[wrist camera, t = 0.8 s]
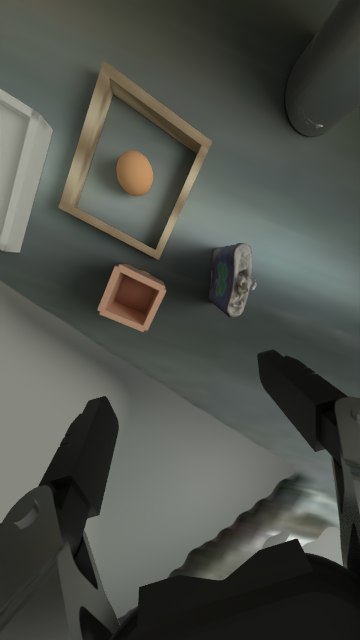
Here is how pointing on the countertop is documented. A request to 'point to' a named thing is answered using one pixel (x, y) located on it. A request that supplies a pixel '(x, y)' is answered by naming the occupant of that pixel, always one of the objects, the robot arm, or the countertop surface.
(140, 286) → the cup
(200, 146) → the corral
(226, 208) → the countertop surface
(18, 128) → the tray
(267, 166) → the countertop surface
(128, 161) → the ball
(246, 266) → the flask
